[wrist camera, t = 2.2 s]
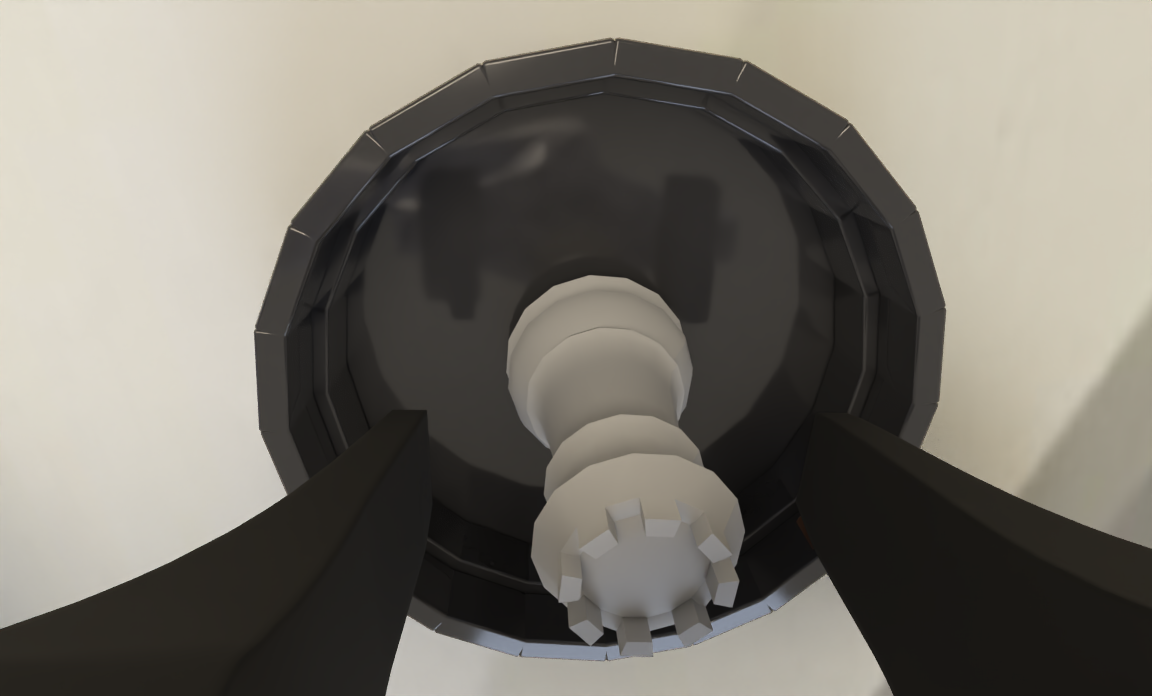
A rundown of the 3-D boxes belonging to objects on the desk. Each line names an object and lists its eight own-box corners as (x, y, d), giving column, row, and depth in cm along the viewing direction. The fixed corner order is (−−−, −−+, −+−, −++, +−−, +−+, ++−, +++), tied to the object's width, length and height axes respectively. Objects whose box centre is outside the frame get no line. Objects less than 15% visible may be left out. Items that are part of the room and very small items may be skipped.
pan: (186, 240, 15) (88, 289, 12) (746, -87, 13) (820, -137, 10) (496, 624, 20) (489, 733, 17) (921, 433, 18) (1007, 514, 15)
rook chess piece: (636, 235, 15) (738, 396, 8) (710, 383, 17) (849, 629, 9) (472, 322, 16) (421, 548, 8) (559, 456, 17) (581, 741, 10)
